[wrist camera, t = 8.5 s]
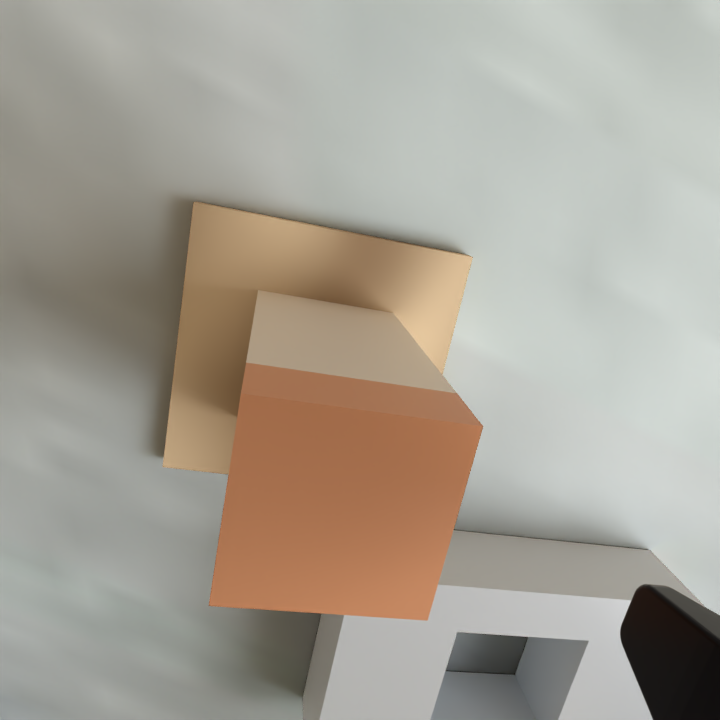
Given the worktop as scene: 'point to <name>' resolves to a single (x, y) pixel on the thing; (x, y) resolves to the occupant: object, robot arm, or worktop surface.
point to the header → (499, 617)
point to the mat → (290, 277)
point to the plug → (340, 466)
